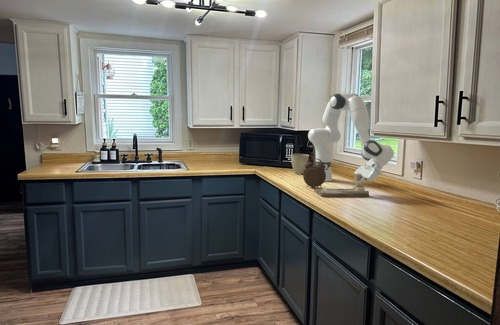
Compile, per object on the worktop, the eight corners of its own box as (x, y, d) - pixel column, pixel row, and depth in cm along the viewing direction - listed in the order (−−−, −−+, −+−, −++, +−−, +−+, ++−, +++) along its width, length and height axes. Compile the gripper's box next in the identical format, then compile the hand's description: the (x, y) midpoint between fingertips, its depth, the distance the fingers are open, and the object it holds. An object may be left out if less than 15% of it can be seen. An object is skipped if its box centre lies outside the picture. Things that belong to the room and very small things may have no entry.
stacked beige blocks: (352, 190, 221) (351, 173, 219) (360, 189, 222) (359, 172, 220) (357, 192, 215) (356, 175, 213) (364, 191, 216) (363, 174, 214)
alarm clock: (326, 188, 234) (328, 159, 231) (321, 190, 228) (323, 159, 225) (306, 185, 243) (308, 156, 240) (301, 186, 237) (303, 157, 234)
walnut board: (314, 191, 223) (314, 186, 223) (358, 191, 228) (358, 186, 227) (321, 196, 209) (322, 191, 209) (368, 197, 214) (369, 191, 214)
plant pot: (286, 172, 295) (287, 153, 293) (303, 172, 299) (304, 153, 297) (294, 175, 281) (295, 155, 279) (311, 175, 285) (312, 155, 283)
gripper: (361, 161, 227) (346, 176, 227) (377, 165, 207) (361, 182, 207) (367, 168, 228) (352, 182, 228) (384, 173, 208) (367, 189, 208)
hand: (356, 182), depth 217 cm, fingers closed on stacked beige blocks, 3 cm apart
